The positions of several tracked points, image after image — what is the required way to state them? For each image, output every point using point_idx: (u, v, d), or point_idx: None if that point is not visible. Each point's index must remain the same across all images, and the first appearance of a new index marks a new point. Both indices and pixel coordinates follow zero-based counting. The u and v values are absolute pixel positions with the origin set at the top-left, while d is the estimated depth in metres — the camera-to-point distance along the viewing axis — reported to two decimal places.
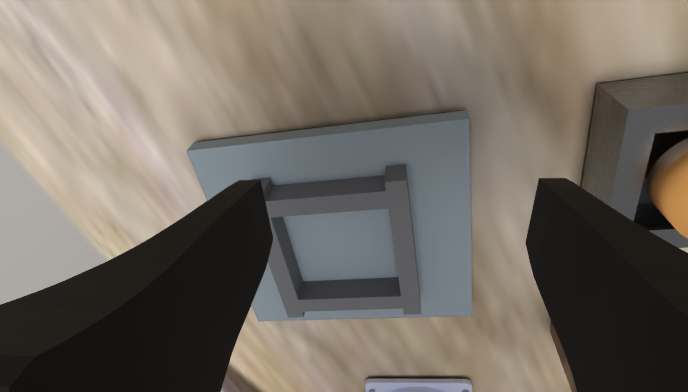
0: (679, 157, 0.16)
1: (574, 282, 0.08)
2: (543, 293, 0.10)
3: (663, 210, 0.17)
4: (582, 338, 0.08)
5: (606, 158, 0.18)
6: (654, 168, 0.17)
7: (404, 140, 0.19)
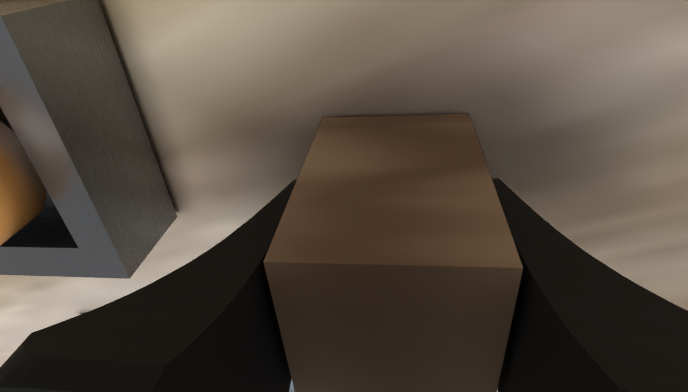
0: None
1: None
2: None
3: None
4: None
5: None
6: None
7: None
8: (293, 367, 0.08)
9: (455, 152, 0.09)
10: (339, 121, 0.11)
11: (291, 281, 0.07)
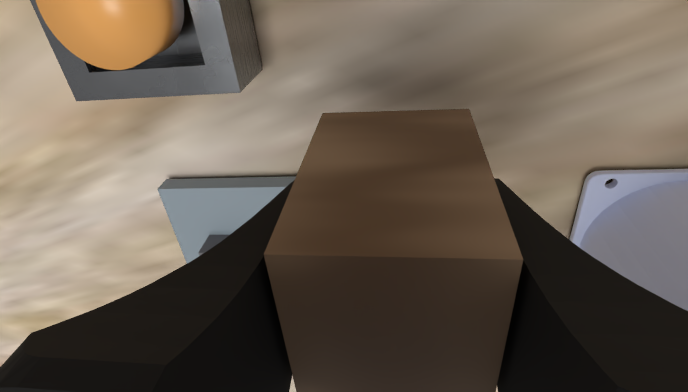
0: None
1: None
2: None
3: None
4: None
5: None
6: None
7: (187, 233, 0.23)
8: (293, 361, 0.08)
9: (455, 147, 0.09)
10: (338, 116, 0.11)
11: (291, 273, 0.07)
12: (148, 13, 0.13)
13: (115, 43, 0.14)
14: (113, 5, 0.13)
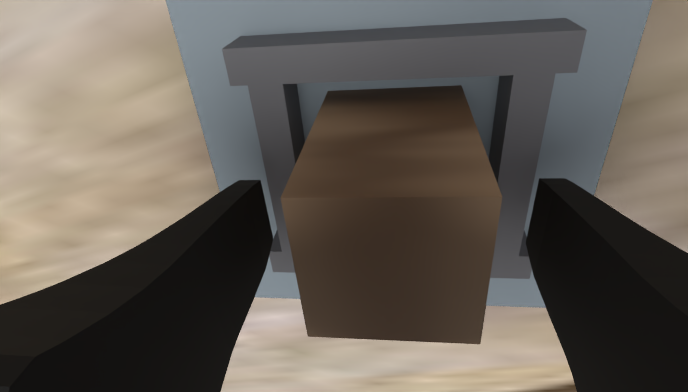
0: None
1: (574, 282, 0.08)
2: (543, 293, 0.10)
3: None
4: (582, 338, 0.08)
5: None
6: None
7: (199, 36, 0.12)
8: (304, 301, 0.09)
9: (448, 115, 0.10)
10: (343, 93, 0.12)
11: (304, 215, 0.08)
12: None
13: None
14: None
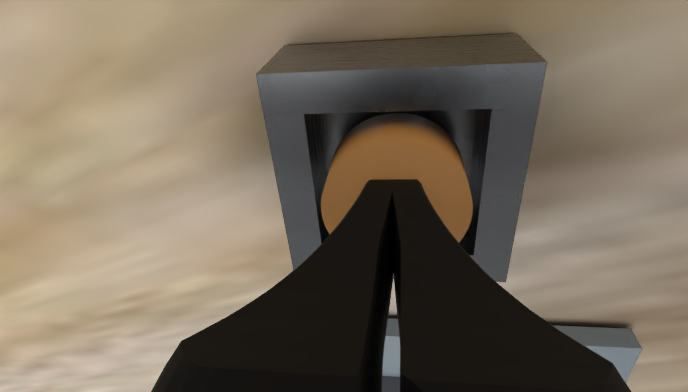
0: None
1: (398, 277, 0.09)
2: (395, 288, 0.10)
3: None
4: None
5: None
6: None
7: None
8: None
9: None
10: None
11: None
12: (461, 223, 0.11)
13: None
14: None
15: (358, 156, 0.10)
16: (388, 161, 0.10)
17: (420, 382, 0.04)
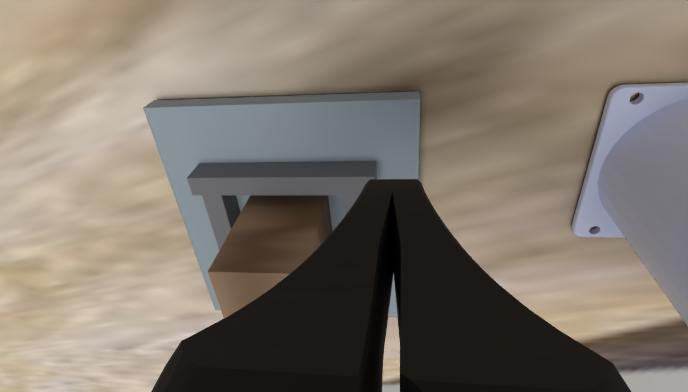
0: None
1: (398, 277, 0.09)
2: (395, 289, 0.10)
3: None
4: None
5: None
6: None
7: (176, 162, 0.21)
8: None
9: (308, 217, 0.19)
10: None
11: (219, 279, 0.17)
12: None
13: None
14: None
15: None
16: None
17: (420, 382, 0.04)
